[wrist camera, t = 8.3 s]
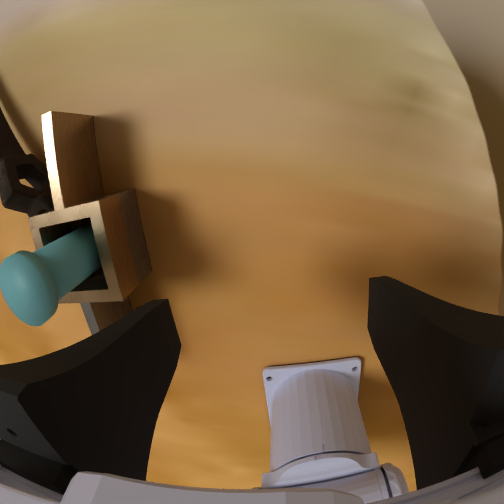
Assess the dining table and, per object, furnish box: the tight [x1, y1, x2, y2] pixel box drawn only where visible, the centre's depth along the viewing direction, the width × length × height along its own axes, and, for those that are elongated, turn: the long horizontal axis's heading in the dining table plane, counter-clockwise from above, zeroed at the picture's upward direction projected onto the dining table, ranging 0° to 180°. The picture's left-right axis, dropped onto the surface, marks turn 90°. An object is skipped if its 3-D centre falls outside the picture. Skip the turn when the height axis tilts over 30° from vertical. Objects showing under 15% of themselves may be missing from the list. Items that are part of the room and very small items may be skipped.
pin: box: [0, 223, 102, 326], centre depth 17 cm, size 4×4×10 cm
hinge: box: [28, 111, 152, 335], centre depth 19 cm, size 18×6×5 cm, turn 7°
